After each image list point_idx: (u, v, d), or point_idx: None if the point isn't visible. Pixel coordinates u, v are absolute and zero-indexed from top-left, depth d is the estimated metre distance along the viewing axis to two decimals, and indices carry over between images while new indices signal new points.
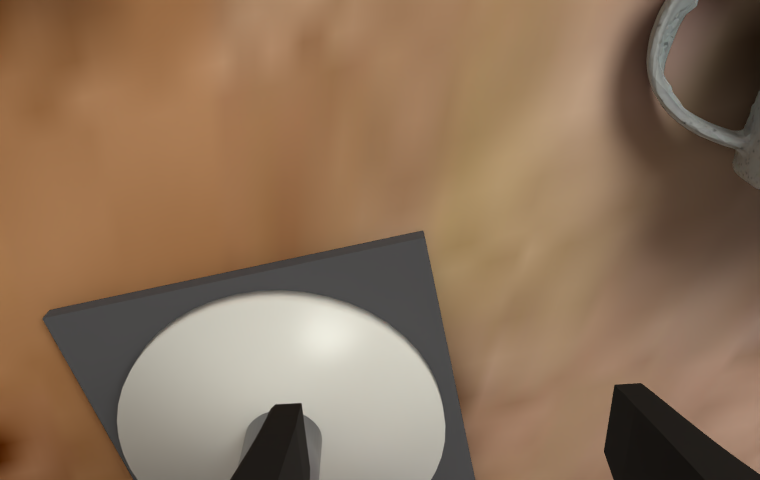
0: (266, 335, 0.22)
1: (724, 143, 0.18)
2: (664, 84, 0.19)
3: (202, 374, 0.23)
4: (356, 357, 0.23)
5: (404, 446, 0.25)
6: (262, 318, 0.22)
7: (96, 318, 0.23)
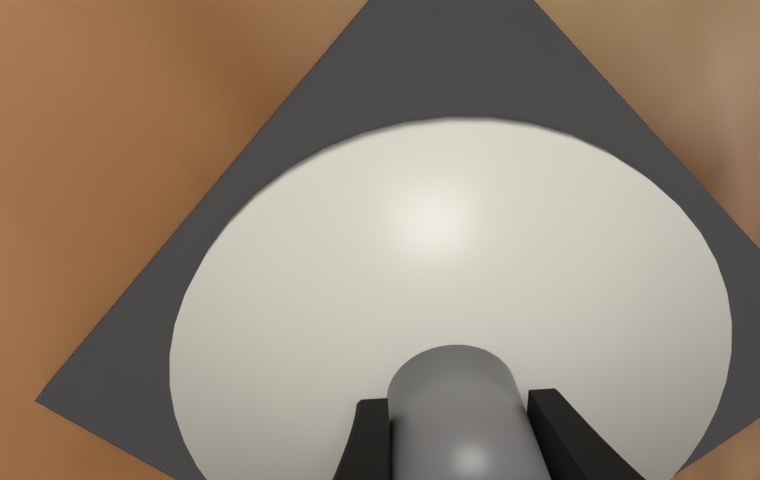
0: (308, 249, 0.13)
1: None
2: None
3: (266, 364, 0.14)
4: (470, 201, 0.12)
5: (650, 308, 0.14)
6: (282, 226, 0.12)
7: (92, 363, 0.15)
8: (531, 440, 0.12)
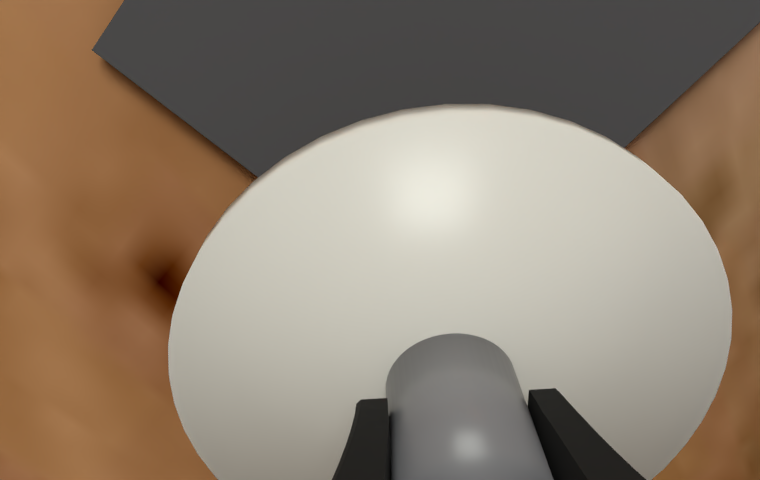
0: (306, 240, 0.12)
1: None
2: None
3: (264, 353, 0.14)
4: (469, 190, 0.12)
5: (650, 296, 0.13)
6: (279, 215, 0.12)
7: (140, 9, 0.18)
8: (530, 430, 0.12)
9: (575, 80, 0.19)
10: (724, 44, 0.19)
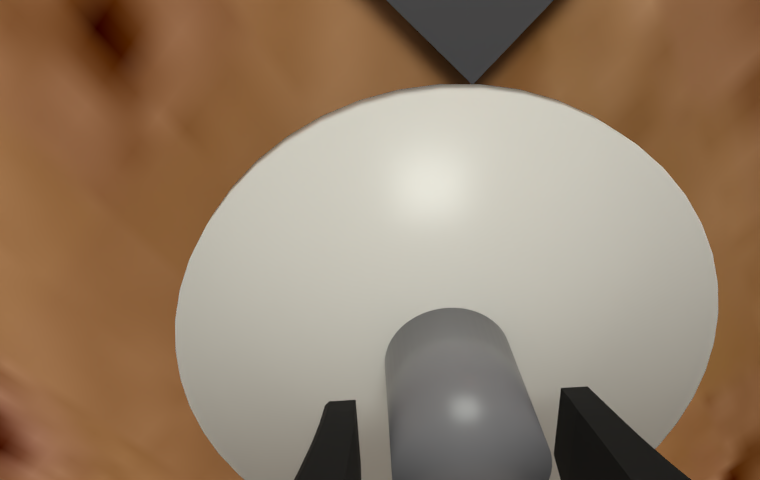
0: (307, 214, 0.13)
1: None
2: None
3: (267, 328, 0.14)
4: (462, 165, 0.13)
5: (638, 270, 0.14)
6: (281, 190, 0.13)
7: None
8: (523, 393, 0.12)
9: None
10: None
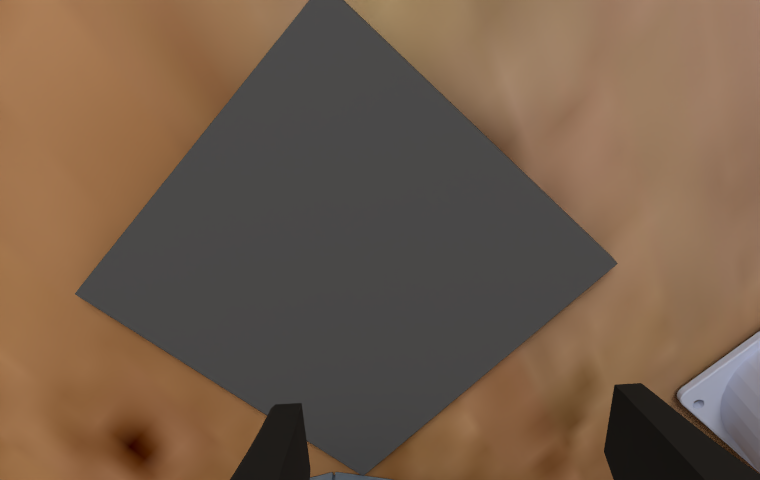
0: None
1: None
2: None
3: None
4: None
5: None
6: None
7: (112, 267, 0.22)
8: None
9: (460, 313, 0.24)
10: (577, 289, 0.24)
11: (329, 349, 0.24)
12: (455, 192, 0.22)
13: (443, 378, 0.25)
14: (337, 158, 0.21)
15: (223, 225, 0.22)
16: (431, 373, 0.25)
